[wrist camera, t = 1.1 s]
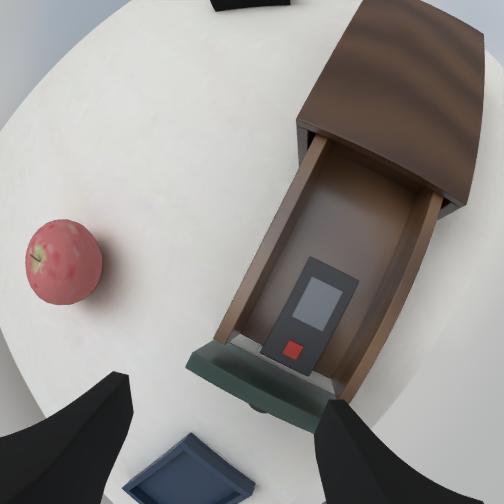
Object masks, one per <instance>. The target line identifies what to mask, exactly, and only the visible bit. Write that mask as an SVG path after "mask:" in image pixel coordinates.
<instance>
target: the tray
mask: <svg viewBox="0 0 504 504" xmlns="http://www.w3.org/2000/svg"><path fill="white" fill-rule="evenodd" d="M254 486H255V483H254V482H253V481H251V480H250V479H248V478H247V477H246V476H244V475H243V474H241V473H240V472H239V471H237V470H236V469H235V468H233V467H232V466H231V465H229V464H228V463H227V462H226V461H224V460H223V459H222V458H220V457H219V456H218V455H217V454H216V453H214V452H213V451H212V450H211V449H209V448H208V447H207V446H206V445H205V444H203V443H202V442H201V441H200V440H199V439H198V438H196V437H195V436H194V435H193V434H192V433H189V434H188V435H187V436H186V437H184V438H183V439H182V440H181V441H180V442H178V443H177V444H176V445H175V446H174V447H172V448H171V449H170V450H169V451H167V452H166V453H165V454H164V455H162V456H161V457H160V458H159V459H157V460H156V461H155V462H154V463H152V464H151V465H150V466H148V467H147V468H146V469H144V470H143V471H142V472H140V473H139V474H138V475H136V476H135V477H134V478H132V479H131V480H130V481H129V482H128V483H127V484H126V485H125V486H124V487H122V489H123V490H124V491H125V492H126V493H127V494H129V495H130V496H131V497H132V498H133V499H134V500H136V501H137V502H138V503H139V504H238V503H239V502H241V501H243V500H245V499H246V498H248V497H250V496H251V495H252V493H253V490H254Z"/></svg>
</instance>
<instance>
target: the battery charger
mask: <svg viewBox="0 0 504 504" xmlns="http://www.w3.org/2000/svg"><path fill="white" fill-rule="evenodd" d="M210 1H211V4H212V6H213V8H214V10H215V11H222V10H229V9H237V8H246V7H257V6H271V5H290V0H210Z"/></svg>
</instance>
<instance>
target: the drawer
mask: <svg viewBox="0 0 504 504" xmlns="http://www.w3.org/2000/svg"><path fill="white" fill-rule="evenodd" d="M443 198H444V197H443V196H442V195H440V194H438V193H437V192H435V191H433V190H432V189H430V188H428V187H426V186H425V185H423V184H421V183H419V182H418V181H416V180H414V179H412V178H410V177H409V176H407V175H405V174H403V173H401V172H399V171H397V170H395V169H393V168H392V167H390V166H388V165H386V164H384V163H382V162H380V161H378V160H376V159H374V158H371V157H369V156H367V155H365V154H363V153H361V152H359V151H357V150H355V149H352V148H350V147H348V146H346V145H343V144H341V143H339V142H337V141H334V140H332V139H330V138H327V137H325V136H322V135H320V134H318V133H316V135H315V137H314V139H313V141H312V143H311V145H310V147H309V149H308V151H307V153H306V155H305V157H304V159H303V161H302V163H301V165H300V167H299V169H298V171H297V173H296V175H295V177H294V179H293V181H292V183H291V185H290V187H289V189H288V191H287V193H286V195H285V197H284V199H283V201H282V203H281V205H280V207H279V209H278V211H277V213H276V215H275V217H274V219H273V221H272V223H271V225H270V227H269V229H268V231H267V233H266V235H265V237H264V239H263V241H262V243H261V245H260V247H259V249H258V251H257V253H256V255H255V257H254V259H253V261H252V263H251V265H250V267H249V269H248V271H247V273H246V275H245V277H244V279H243V281H242V283H241V285H240V287H239V289H238V290H237V292H236V294H235V296H234V298H233V300H232V302H231V304H230V306H229V308H228V310H227V312H226V314H225V316H224V318H223V320H222V322H221V324H220V326H219V328H218V330H217V332H216V334H215V336H214V338H213V339H214V340H213V341H211V342H209V343H208V344H206V345H204V346H203V347H201V348H199V349H198V350H196V351H194V352H193V353H192V354H191V356H190V358H189V360H188V362H187V364H186V368H187V369H188V370H190V371H192V372H193V373H195V374H197V375H198V376H200V377H202V378H203V379H205V380H207V381H209V382H210V383H212V384H214V385H216V386H217V387H219V388H221V389H223V390H224V391H226V392H228V393H230V394H232V395H234V396H235V397H237V398H239V399H241V400H243V401H245V402H247V403H249V405H250V406H251V407H252V408H253V409H254V410H256V411H258V412H261V413H269V414H271V415H273V416H275V417H277V418H279V419H281V420H284V421H286V422H288V423H290V424H292V425H295V426H297V427H299V428H302V429H304V430H306V431H309V432H311V433H313V434H314V433H315V430H316V428H317V426H318V424H319V421H320V419H321V417H322V414H323V412H324V410H325V407H326V405H327V402H328V400H329V399H344V400H345V401H346V402H347V403H348V404H349V403H350V402H351V400H352V399H353V397H354V396H355V394H356V392H357V391H358V389H359V388H360V386H361V384H362V383H363V381H364V379H365V378H366V376H367V374H368V373H369V371H370V369H371V367H372V366H373V364H374V362H375V360H376V358H377V357H378V355H379V353H380V351H381V349H382V347H383V346H384V344H385V342H386V340H387V338H388V336H389V334H390V332H391V330H392V328H393V326H394V324H395V322H396V320H397V318H398V316H399V314H400V312H401V309H402V307H403V305H404V303H405V301H406V298H407V296H408V294H409V292H410V289H411V287H412V285H413V282H414V280H415V278H416V275H417V273H418V270H419V268H420V265H421V263H422V260H423V257H424V255H425V252H426V250H427V247H428V244H429V241H430V238H431V236H432V233H433V230H434V227H435V224H436V221H437V218H438V214H439V211H440V208H441V205H442V201H443ZM310 256H311V257H313V258H315V259H317V260H319V261H321V262H323V263H325V264H327V265H329V266H331V267H333V268H335V269H337V270H339V271H341V272H343V273H345V274H347V275H349V276H351V277H353V278H355V279H357V280H359V283H358V285H357V287H356V289H355V292H354V294H353V296H352V298H351V300H350V302H349V304H348V306H347V308H346V310H345V312H344V314H343V316H342V318H341V320H340V321H339V323H338V325H337V327H336V329H335V331H334V333H333V335H332V337H331V338H330V340H329V342H328V344H327V346H326V347H325V349H324V351H323V353H322V355H321V356H320V358H319V360H318V362H317V363H316V365H315V367H314V369H313V371H315V372H318V373H320V374H322V375H324V376H326V377H328V378H330V379H331V381H332V385H333V388H334V392H335V395H334V394H331V393H329V392H327V391H325V390H322V389H320V388H318V387H316V386H314V385H311V384H309V383H307V382H305V381H303V380H301V379H299V378H297V377H295V376H293V375H291V374H288V373H286V372H284V371H282V370H280V369H278V368H276V367H274V366H272V365H270V364H269V363H267V362H265V361H263V360H261V359H259V358H257V357H255V356H253V355H251V354H249V353H248V352H246V351H244V350H242V349H240V348H238V347H236V346H235V345H233V344H231V343H229V341H231V340H232V339H233V338H235V337H236V336H237V335H239V334H242V335H244V336H246V337H248V338H250V339H252V340H254V341H255V342H257V343H259V344H261V345H263V346H264V344H265V342H266V340H267V338H268V337H269V335H270V333H271V331H272V329H273V327H274V325H275V323H276V322H277V320H278V318H279V316H280V314H281V312H282V310H283V308H284V306H285V304H286V302H287V300H288V299H289V297H290V295H291V293H292V291H293V289H294V287H295V285H296V283H297V281H298V279H299V277H300V275H301V273H302V271H303V269H304V267H305V265H306V263H307V261H308V259H309V257H310Z"/></svg>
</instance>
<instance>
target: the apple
mask: <svg viewBox="0 0 504 504" xmlns="http://www.w3.org/2000/svg"><path fill="white" fill-rule="evenodd" d="M25 265H26V274H27V278H28V281H29V283H30V286H31V288H32V289H33V291H34V292H35V293H36V295H37V296H38V297H40V298H41V299H42V300H44V301H45V302H47V303H50V304H55V305H69V304H74V303H76V302H78V301H80V300H83V299H84V298H85V297H87V296H88V295H89V294H90V293H91V292H92V291H93V290H94V288H95V287H96V286H97V284H98V282H99V280H100V277H101V273H102V265H103V260H102V254H101V251H100V248H99V245H98V243H97V241H96V239H95V238H94V236H93V235H92V234H91V233H90V232H89V231H88V230H87V229H86V228H85V227H84V226H83V225H81V224H79V223H77V222H74V221H71V220H66V219H63V220H54V221H51V222H49V223H46V224H45V225H44V226H42V227H41V228H40V229H38V231H37V232H36V233H35V234H34V236H33V237H32V239H31V241H30V243H29V245H28V248H27V252H26V261H25Z"/></svg>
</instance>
